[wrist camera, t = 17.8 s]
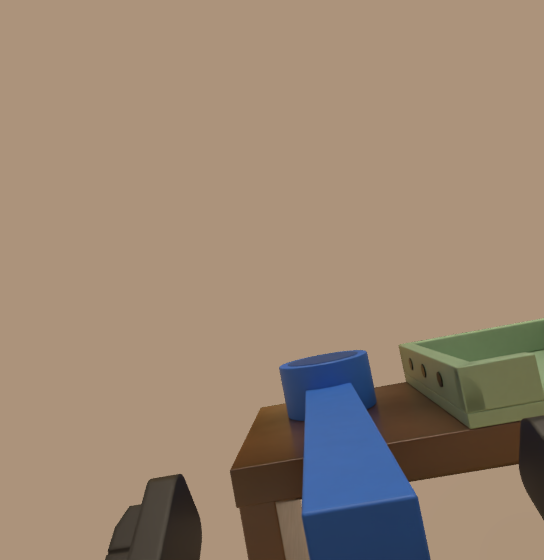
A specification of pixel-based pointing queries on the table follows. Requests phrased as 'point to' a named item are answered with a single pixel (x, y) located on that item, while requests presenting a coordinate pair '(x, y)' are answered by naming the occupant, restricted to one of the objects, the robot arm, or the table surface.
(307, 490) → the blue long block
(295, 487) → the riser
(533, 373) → the green shallow tray
